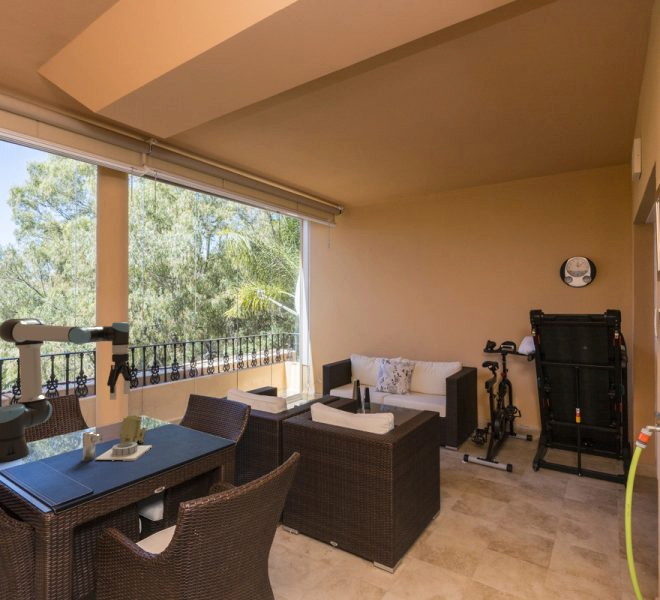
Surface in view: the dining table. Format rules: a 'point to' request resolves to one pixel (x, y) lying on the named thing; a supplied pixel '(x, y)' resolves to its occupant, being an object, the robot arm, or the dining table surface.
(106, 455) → the plate
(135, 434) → the mechanical component
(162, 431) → the dining table surface
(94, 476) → the dining table surface
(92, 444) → the elbow
